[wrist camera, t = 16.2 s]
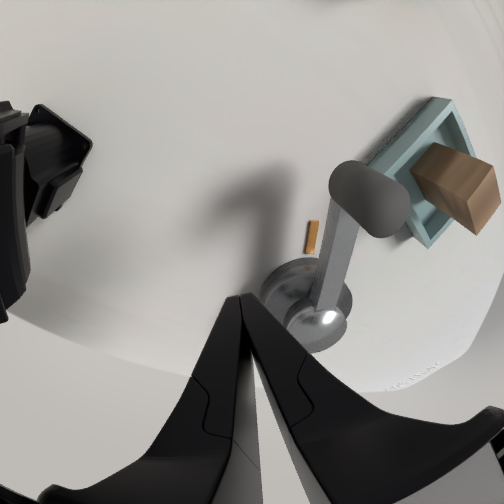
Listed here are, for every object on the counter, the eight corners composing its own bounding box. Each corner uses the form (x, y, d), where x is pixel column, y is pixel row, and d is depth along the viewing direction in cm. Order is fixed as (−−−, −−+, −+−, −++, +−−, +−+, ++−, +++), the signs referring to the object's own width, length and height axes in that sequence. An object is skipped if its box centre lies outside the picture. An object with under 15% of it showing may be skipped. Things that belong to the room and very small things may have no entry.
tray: (366, 166, 19) (383, 175, 17) (433, 96, 16) (452, 99, 14) (413, 236, 24) (427, 249, 22) (467, 174, 21) (483, 182, 19)
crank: (330, 333, 24) (349, 377, 20) (279, 339, 23) (293, 387, 19) (378, 162, 16) (428, 187, 11) (310, 152, 15) (351, 176, 11)
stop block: (409, 169, 19) (466, 201, 13) (434, 142, 18) (493, 166, 12) (425, 200, 21) (476, 235, 15) (448, 173, 20) (501, 202, 14)
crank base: (232, 295, 24) (235, 319, 22) (314, 216, 21) (328, 234, 19) (296, 332, 28) (304, 354, 26) (368, 272, 25) (382, 290, 23)
